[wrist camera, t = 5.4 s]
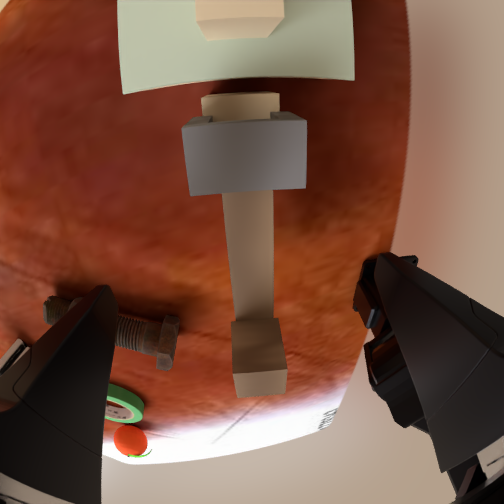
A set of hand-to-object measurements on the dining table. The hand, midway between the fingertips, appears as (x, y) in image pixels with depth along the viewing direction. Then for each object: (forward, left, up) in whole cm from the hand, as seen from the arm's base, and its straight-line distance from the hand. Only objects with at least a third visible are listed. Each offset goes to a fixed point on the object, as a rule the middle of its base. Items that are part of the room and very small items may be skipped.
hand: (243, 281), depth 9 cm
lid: (0, -12, -9) cm, 15 cm away
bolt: (+14, +14, -14) cm, 25 cm away
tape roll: (+24, +35, -14) cm, 44 cm away
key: (0, +5, -8) cm, 9 cm away
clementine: (+24, +48, -14) cm, 55 cm away
